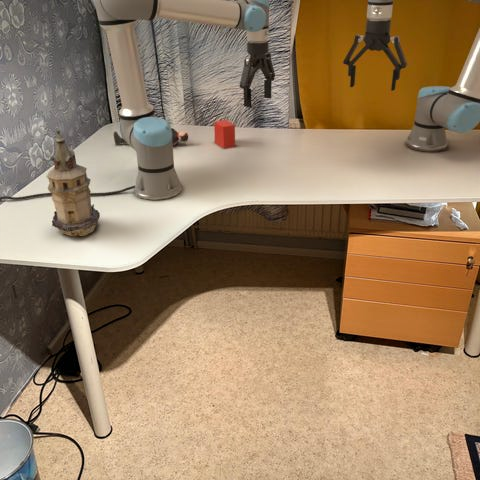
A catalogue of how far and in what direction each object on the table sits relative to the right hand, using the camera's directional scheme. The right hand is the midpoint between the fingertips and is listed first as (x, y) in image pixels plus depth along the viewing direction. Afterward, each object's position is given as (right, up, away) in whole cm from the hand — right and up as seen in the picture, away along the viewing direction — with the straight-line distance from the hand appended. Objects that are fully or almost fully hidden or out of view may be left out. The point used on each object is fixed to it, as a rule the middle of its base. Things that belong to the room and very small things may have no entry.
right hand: (372, 88), depth 177 cm
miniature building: (-91, -47, -22) cm, 105 cm away
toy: (-79, -11, +43) cm, 91 cm away
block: (-50, -11, +40) cm, 65 cm away
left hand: (-37, 0, +19) cm, 42 cm away
